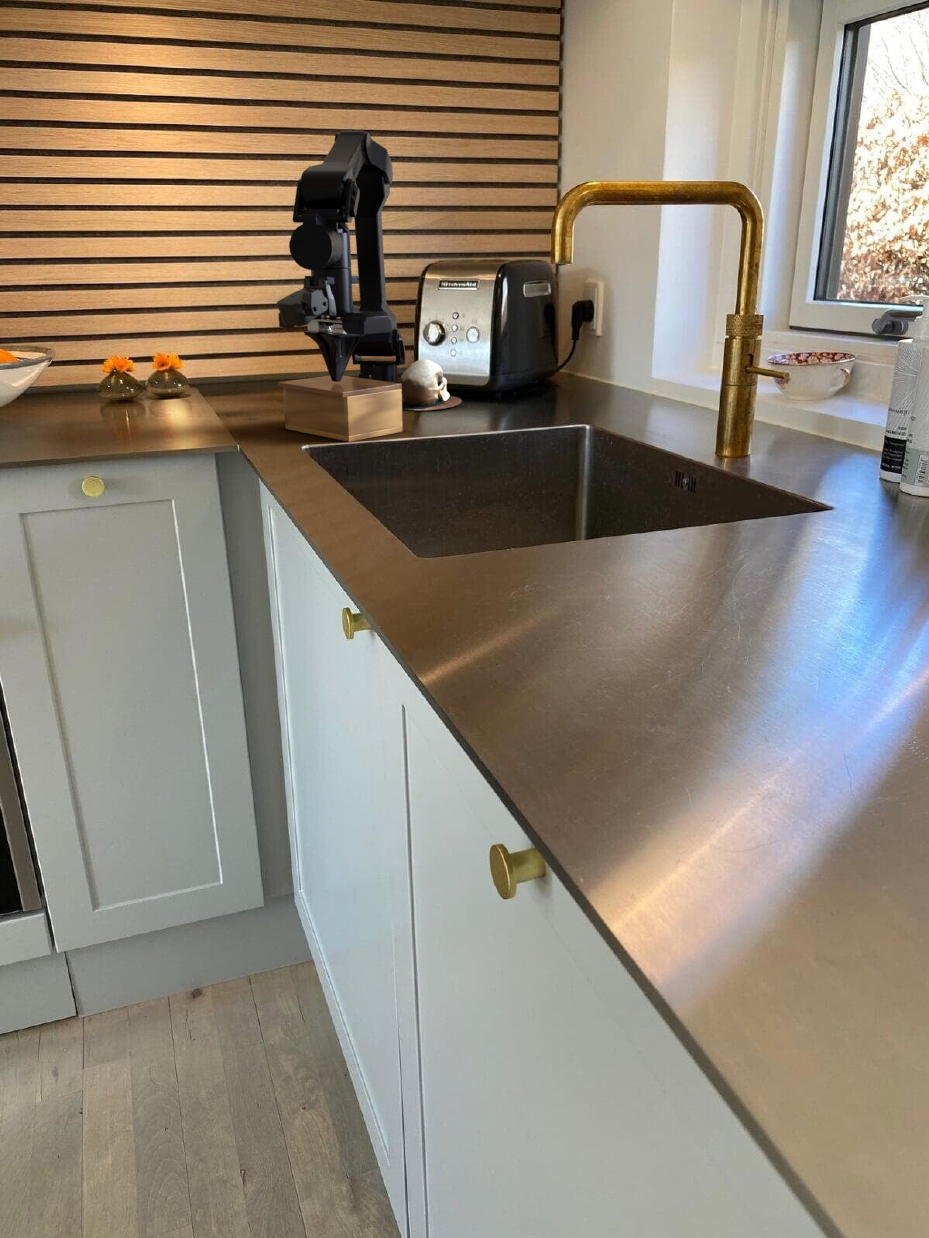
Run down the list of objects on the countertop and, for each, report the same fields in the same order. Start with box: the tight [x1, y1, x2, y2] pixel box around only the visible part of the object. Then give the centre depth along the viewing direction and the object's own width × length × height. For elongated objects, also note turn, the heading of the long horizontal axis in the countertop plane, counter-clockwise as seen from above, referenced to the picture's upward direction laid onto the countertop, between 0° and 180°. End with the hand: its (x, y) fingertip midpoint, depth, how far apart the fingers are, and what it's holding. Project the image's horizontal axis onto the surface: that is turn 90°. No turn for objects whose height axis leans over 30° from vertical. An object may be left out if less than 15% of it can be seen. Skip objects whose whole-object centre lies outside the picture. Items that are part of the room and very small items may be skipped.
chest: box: [282, 388, 404, 443], centre depth 140 cm, size 11×15×6 cm
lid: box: [277, 375, 402, 398], centre depth 139 cm, size 11×15×1 cm
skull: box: [399, 359, 463, 411], centre depth 162 cm, size 12×10×10 cm
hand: (336, 381), depth 138 cm, fingers closed
